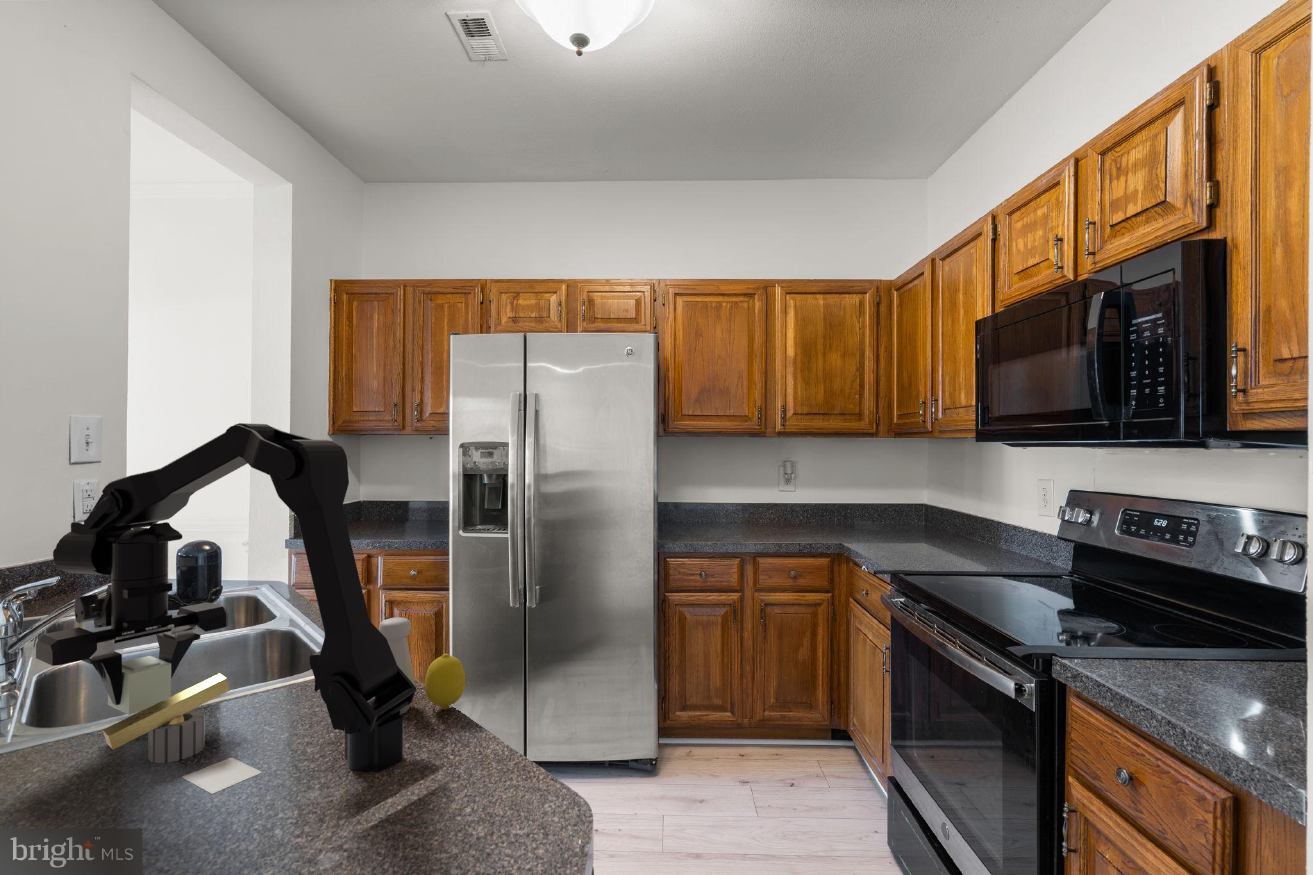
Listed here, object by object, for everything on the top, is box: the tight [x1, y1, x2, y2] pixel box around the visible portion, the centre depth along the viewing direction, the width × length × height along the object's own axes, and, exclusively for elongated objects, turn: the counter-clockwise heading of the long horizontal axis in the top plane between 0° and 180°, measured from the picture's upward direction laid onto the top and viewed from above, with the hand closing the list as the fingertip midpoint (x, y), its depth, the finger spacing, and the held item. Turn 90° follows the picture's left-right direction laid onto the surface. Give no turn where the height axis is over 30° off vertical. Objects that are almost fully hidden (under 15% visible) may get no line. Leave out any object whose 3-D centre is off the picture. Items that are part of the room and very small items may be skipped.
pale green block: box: [107, 655, 172, 716], centre depth 83 cm, size 6×4×5 cm
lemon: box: [424, 653, 466, 711], centre depth 93 cm, size 6×6×8 cm
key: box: [102, 673, 230, 750], centre depth 78 cm, size 12×2×6 cm, turn 144°
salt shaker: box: [371, 616, 417, 715], centre depth 93 cm, size 6×6×13 cm
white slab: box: [147, 709, 263, 795], centre depth 75 cm, size 17×10×5 cm, turn 60°
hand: (139, 697), depth 83 cm, fingers closed on pale green block, 4 cm apart
